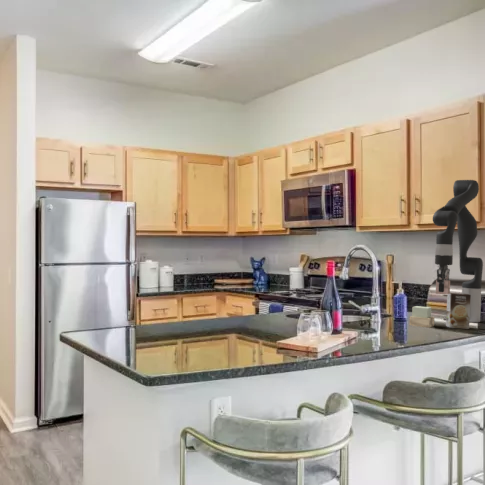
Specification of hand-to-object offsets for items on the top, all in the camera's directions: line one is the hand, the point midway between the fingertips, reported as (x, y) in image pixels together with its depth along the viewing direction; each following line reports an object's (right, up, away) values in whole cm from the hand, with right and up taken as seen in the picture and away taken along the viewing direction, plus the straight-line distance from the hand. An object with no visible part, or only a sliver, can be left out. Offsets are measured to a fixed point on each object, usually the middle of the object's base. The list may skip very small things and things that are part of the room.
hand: (442, 291), depth 246 cm
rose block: (0, -1, 0) cm, 1 cm away
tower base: (-6, -18, +11) cm, 21 cm away
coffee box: (+10, -18, +8) cm, 22 cm away
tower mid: (-6, -13, +11) cm, 18 cm away
